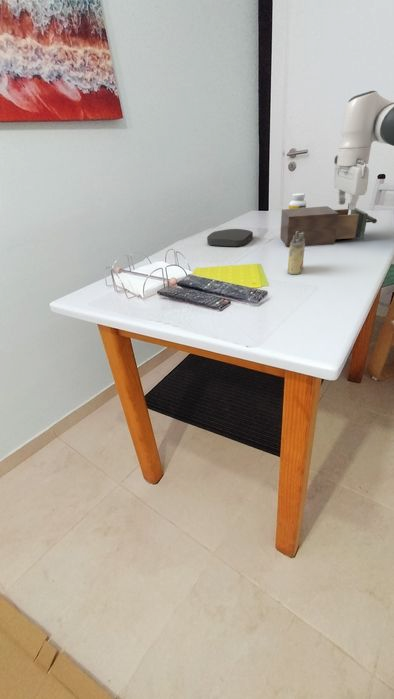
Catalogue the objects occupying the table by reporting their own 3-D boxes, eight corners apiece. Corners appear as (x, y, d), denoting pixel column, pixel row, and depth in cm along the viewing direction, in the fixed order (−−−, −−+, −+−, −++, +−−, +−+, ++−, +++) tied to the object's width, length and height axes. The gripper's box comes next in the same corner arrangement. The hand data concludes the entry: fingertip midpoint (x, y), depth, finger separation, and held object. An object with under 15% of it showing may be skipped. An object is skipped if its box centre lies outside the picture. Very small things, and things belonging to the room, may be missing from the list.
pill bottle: (294, 228, 132) (297, 196, 126) (284, 225, 138) (286, 194, 131) (307, 225, 134) (310, 193, 128) (297, 222, 140) (299, 192, 133)
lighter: (299, 275, 90) (302, 237, 84) (285, 274, 91) (287, 236, 86) (303, 266, 95) (307, 230, 90) (289, 265, 96) (292, 229, 91)
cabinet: (323, 234, 121) (327, 206, 116) (334, 244, 111) (339, 213, 106) (280, 237, 122) (281, 209, 117) (286, 247, 112) (288, 216, 107)
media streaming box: (203, 245, 121) (203, 237, 119) (219, 235, 131) (219, 227, 130) (242, 247, 115) (242, 239, 113) (255, 236, 126) (255, 228, 124)
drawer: (363, 229, 119) (367, 206, 115) (376, 238, 110) (381, 212, 106) (309, 233, 121) (312, 210, 117) (318, 241, 111) (321, 217, 107)
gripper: (378, 159, 94) (368, 211, 101) (352, 155, 111) (345, 200, 118) (354, 161, 94) (347, 213, 102) (332, 157, 112) (327, 202, 119)
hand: (346, 206), depth 110 cm, fingers open, 8 cm apart
